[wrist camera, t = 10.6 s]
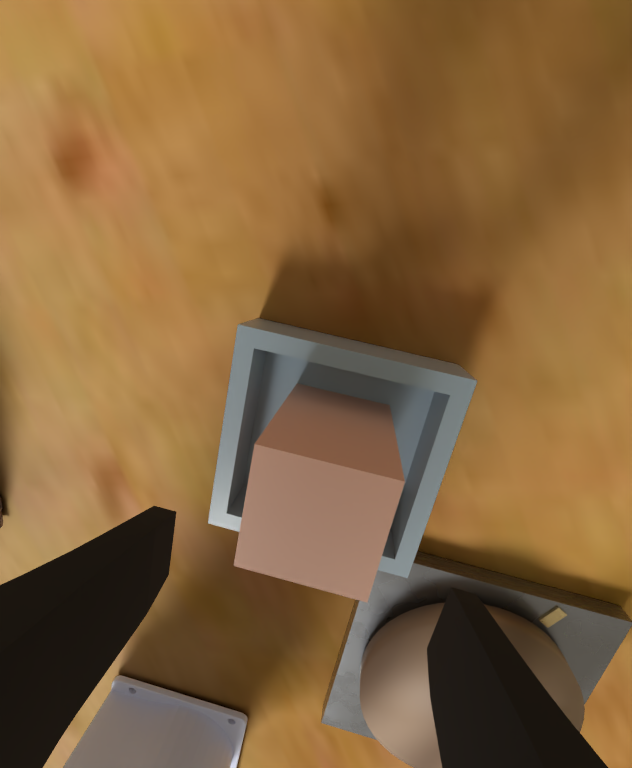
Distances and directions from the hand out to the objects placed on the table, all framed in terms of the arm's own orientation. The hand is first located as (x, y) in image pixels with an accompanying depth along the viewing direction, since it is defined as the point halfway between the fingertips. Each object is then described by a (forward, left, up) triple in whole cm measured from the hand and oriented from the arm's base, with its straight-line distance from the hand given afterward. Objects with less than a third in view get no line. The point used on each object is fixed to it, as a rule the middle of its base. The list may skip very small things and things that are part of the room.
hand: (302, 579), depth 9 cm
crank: (+10, -12, -8) cm, 18 cm away
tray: (0, 0, -10) cm, 10 cm away
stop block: (0, 0, -9) cm, 9 cm away
